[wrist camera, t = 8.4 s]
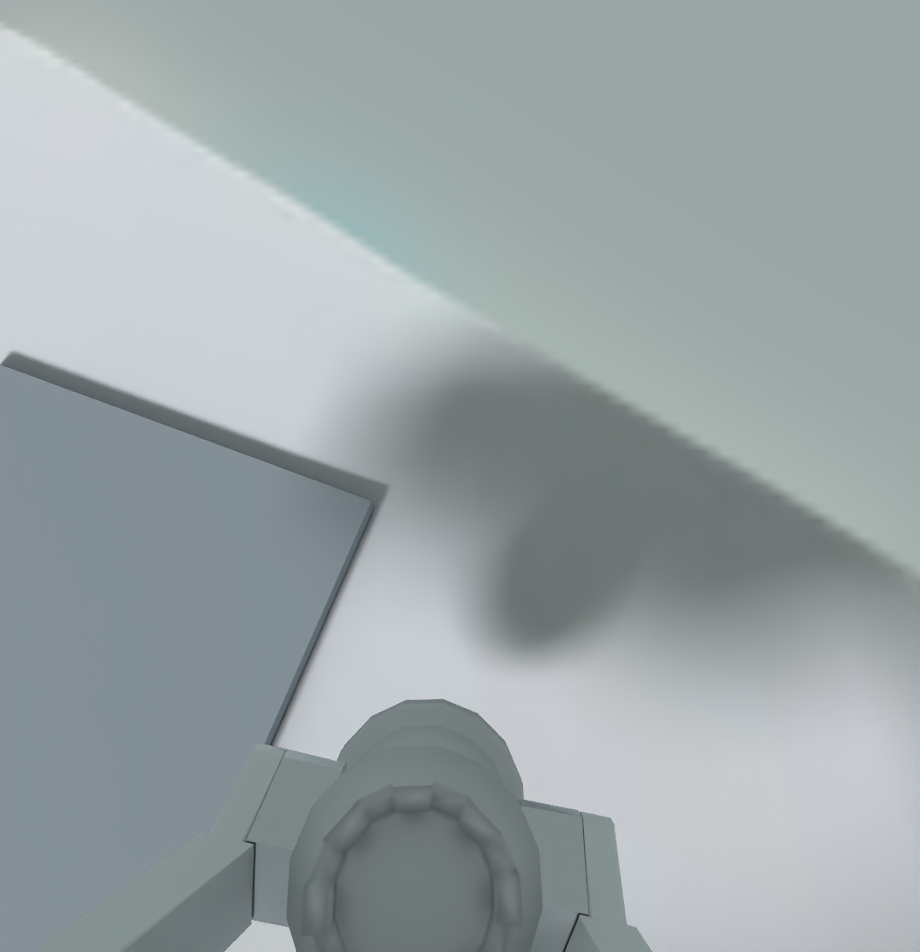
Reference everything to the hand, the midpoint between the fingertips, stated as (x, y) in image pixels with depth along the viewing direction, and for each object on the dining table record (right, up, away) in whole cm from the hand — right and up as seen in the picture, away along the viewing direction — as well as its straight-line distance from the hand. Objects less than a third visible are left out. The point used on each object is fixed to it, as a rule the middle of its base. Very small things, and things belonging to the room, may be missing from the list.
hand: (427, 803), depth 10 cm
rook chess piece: (0, -2, +4) cm, 5 cm away
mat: (-14, -2, +10) cm, 17 cm away
